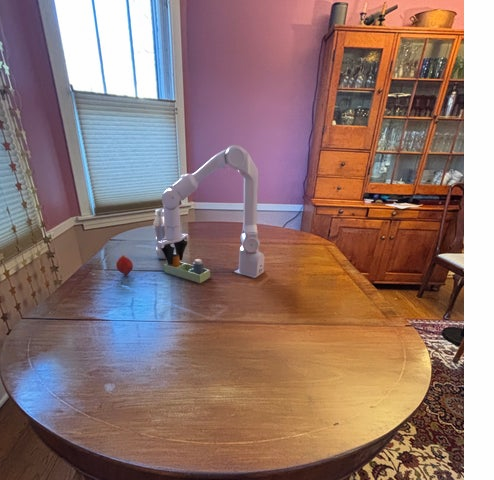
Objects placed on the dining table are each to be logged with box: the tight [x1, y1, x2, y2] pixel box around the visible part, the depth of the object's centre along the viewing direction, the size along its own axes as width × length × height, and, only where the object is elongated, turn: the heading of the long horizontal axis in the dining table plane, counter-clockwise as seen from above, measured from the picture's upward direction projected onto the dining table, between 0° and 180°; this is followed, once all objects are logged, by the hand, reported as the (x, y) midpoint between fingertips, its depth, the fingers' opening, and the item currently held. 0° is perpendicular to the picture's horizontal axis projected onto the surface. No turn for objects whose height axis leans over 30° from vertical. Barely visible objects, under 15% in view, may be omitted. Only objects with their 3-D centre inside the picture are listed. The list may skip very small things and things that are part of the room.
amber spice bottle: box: [170, 251, 181, 267], centre depth 114 cm, size 4×4×7 cm
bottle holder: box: [163, 261, 211, 284], centre depth 112 cm, size 17×6×4 cm, turn 57°
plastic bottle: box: [153, 208, 166, 260], centre depth 124 cm, size 6×7×20 cm
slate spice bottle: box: [192, 258, 204, 275], centre depth 109 cm, size 4×4×7 cm
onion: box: [115, 254, 134, 276], centre depth 111 cm, size 6×6×8 cm
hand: (175, 261), depth 114 cm, fingers open, 5 cm apart
